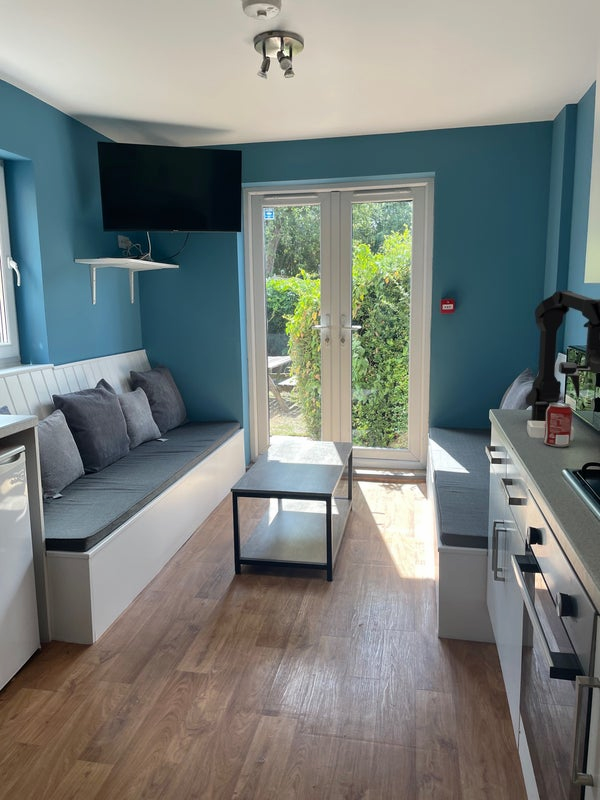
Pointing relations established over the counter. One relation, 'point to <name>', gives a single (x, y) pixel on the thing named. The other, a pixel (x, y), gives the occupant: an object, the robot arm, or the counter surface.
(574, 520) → the counter surface
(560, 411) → the soda can
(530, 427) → the bin
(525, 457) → the counter surface
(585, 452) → the counter surface
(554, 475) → the counter surface
